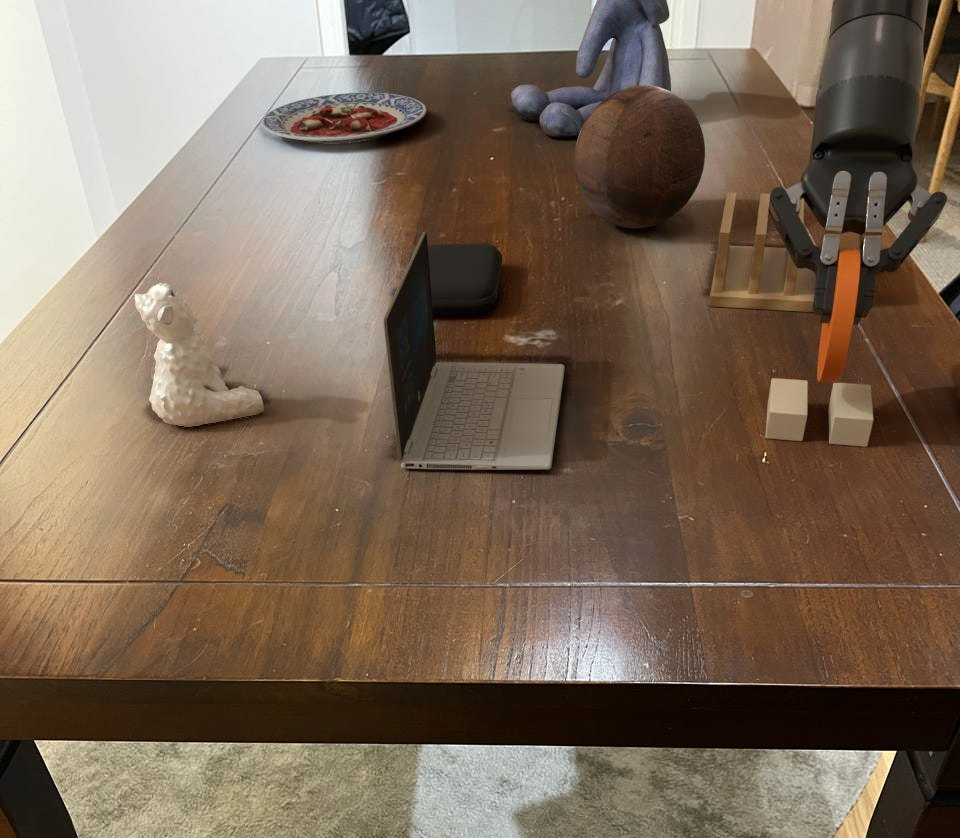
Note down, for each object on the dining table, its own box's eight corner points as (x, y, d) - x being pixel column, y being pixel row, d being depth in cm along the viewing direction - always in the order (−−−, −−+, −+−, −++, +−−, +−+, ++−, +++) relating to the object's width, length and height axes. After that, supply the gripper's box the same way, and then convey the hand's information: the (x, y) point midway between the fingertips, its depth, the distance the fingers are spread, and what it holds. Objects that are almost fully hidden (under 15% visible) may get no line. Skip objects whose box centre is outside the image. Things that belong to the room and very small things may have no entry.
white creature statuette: (271, 412, 91) (245, 282, 83) (188, 449, 87) (152, 315, 79) (215, 379, 96) (185, 254, 88) (134, 413, 92) (95, 284, 84)
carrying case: (411, 266, 115) (393, 321, 104) (408, 239, 113) (390, 292, 102) (503, 264, 114) (496, 320, 104) (503, 237, 112) (495, 291, 101)
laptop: (550, 475, 81) (551, 320, 72) (398, 471, 83) (380, 318, 74) (564, 371, 94) (566, 230, 86) (433, 369, 96) (421, 230, 87)
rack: (828, 260, 111) (841, 192, 106) (829, 313, 101) (843, 241, 96) (718, 255, 114) (725, 189, 109) (708, 306, 104) (716, 235, 99)
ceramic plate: (391, 157, 147) (389, 135, 145) (234, 149, 153) (230, 128, 151) (449, 110, 165) (448, 89, 163) (307, 104, 171) (304, 85, 169)
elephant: (501, 110, 163) (497, -42, 150) (645, 92, 167) (654, -57, 154) (540, 145, 148) (539, -21, 134) (697, 124, 152) (712, -39, 139)
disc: (834, 355, 86) (857, 233, 80) (838, 403, 78) (863, 273, 72) (816, 353, 86) (837, 232, 80) (818, 402, 79) (841, 272, 73)
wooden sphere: (721, 217, 123) (736, 80, 113) (655, 257, 114) (665, 112, 104) (618, 196, 130) (623, 65, 120) (548, 231, 122) (548, 94, 112)
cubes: (864, 411, 86) (870, 384, 85) (867, 447, 82) (873, 419, 80) (767, 404, 88) (771, 377, 86) (765, 438, 84) (769, 411, 82)
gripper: (779, 70, 75) (751, 296, 75) (975, 70, 72) (948, 305, 72) (772, 127, 83) (746, 333, 82) (950, 129, 80) (924, 343, 79)
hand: (840, 319), depth 77 cm, fingers closed on disc, 1 cm apart
